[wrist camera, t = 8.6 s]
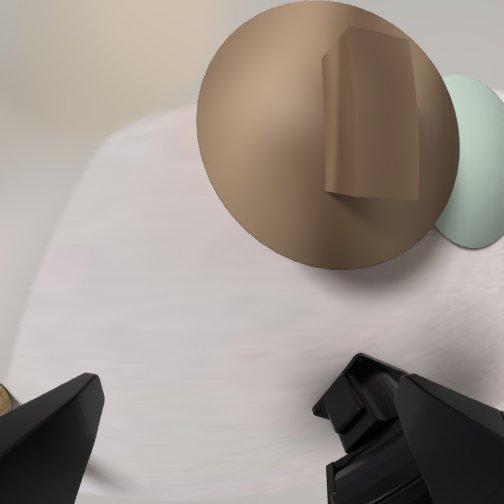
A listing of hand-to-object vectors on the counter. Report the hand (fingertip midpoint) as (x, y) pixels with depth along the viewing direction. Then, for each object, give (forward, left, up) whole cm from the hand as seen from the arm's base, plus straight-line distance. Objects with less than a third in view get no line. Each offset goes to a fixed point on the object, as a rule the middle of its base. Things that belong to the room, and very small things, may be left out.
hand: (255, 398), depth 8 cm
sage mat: (-12, -16, -12) cm, 23 cm away
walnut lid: (0, -9, -7) cm, 12 cm away
